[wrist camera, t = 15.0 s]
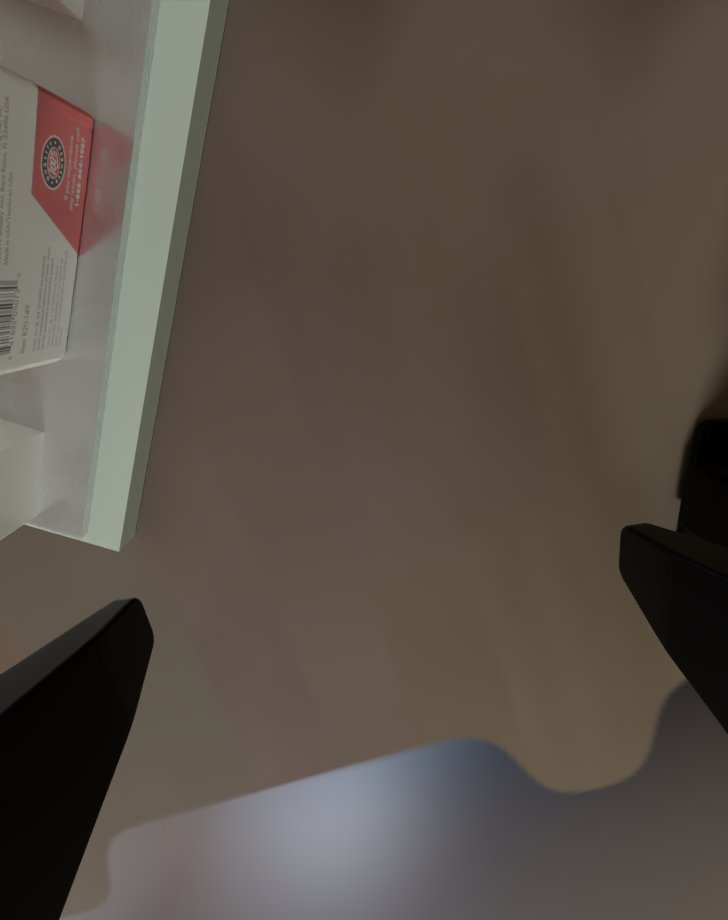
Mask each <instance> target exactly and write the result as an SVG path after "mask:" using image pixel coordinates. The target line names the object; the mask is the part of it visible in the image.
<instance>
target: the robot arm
mask: <svg viewBox="0 0 728 920" xmlns="http://www.w3.org/2000/svg"><path fill="white" fill-rule="evenodd" d="M711 428H714V431H713V433H712V434H711V435H710V436H707V433H708V431H709V430H710V429H711ZM678 520H679V522H680V523H679V529H678V532H675V531H672V530H668V529H665V528H662V527H658V526H655V525H652V524H648V523H642V524H635V525H629V526H625V527H624V528H623V529H622V531H621V537H620V555H619V569H620V573H621V576H622V578H623V580H624V581H625V583H626V585H627V587H628V588H629V590H630V592H631V593H632V595H633V597H634V598H635V600H636V602H637V603H638V605H639V607H640V608H641V610H642V612H643V614H644V615H645V617H646V619H647V620H648V622H649V624H650V625H651V627H652V629H653V630H654V632H655V634H656V636H657V637H658V639H659V640H660V642H661V644H662V645H663V647H664V648H665V650H666V651H667V653H668V654H669V655H670V657H671V658H672V660H673V661H674V662H675V664H676V665H677V666H678V668H679V669H680V671H681V672H682V673H683V675H684V676H685V677H686V679H687V680H688V681H689V683H690V684H691V685H692V687H693V688H694V689H695V691H696V692H697V693H698V695H699V696H700V697H701V699H702V700H703V702H704V703H705V704H706V706H707V707H708V708H709V710H710V711H711V712H712V714H713V715H714V716H715V718H716V719H717V720H718V722H719V723H720V724H721V726H722V727H723V728H724V730H725V731H726V733H727V734H728V418H724V419H709V420H705V421H703V422H701V423H700V424H699V425H698V426H697V428H696V431H695V437H694V442H693V448H692V454H691V460H690V465H689V469H688V471H687V472H686V477H685V483H684V489H683V495H682V501H681V507H680V512H679V518H678ZM153 644H154V636H153V631H152V628H151V626H150V623H149V620H148V618H147V615H146V612H145V610H144V607H143V605H142V603H141V601H140V600H139V599H137V598H127V599H120V600H116V601H113V602H111V603H110V604H108V605H107V606H105V607H104V608H102V609H101V610H99V611H97V612H96V613H94V614H93V615H91V616H90V617H88V618H87V619H85V620H84V621H82V622H80V623H79V624H77V625H76V626H74V627H73V628H71V629H70V630H68V631H67V632H65V633H64V634H62V635H60V636H59V637H57V638H56V639H54V640H53V641H51V642H50V643H48V644H47V645H45V646H43V647H42V648H40V649H39V650H37V651H36V652H34V653H33V654H31V655H30V656H28V657H27V658H25V659H23V660H22V661H20V662H19V663H17V664H16V665H14V666H13V667H11V668H10V669H8V670H7V671H5V672H3V673H2V674H0V920H59V919H60V916H61V913H62V911H63V908H64V905H65V903H66V900H67V897H68V895H69V892H70V890H71V887H72V884H73V882H74V879H75V876H76V874H77V871H78V868H79V866H80V863H81V860H82V858H83V855H84V852H85V850H86V847H87V844H88V842H89V839H90V836H91V834H92V831H93V828H94V826H95V823H96V820H97V818H98V815H99V812H100V810H101V807H102V804H103V802H104V799H105V796H106V794H107V791H108V788H109V786H110V783H111V780H112V778H113V775H114V772H115V770H116V767H117V764H118V762H119V759H120V756H121V754H122V751H123V748H124V746H125V743H126V740H127V738H128V735H129V732H130V729H131V726H132V723H133V720H134V716H135V713H136V709H137V706H138V702H139V698H140V694H141V690H142V687H143V683H144V679H145V675H146V672H147V668H148V664H149V660H150V656H151V653H152V649H153Z"/></svg>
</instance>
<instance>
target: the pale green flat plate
mask: <svg viewBox="0 0 728 920" xmlns="http://www.w3.org/2000/svg"><path fill="white" fill-rule="evenodd" d="M160 1H161V0H85V1H84V12H83V21H81V20H79V19H76V18H73V17H70V16H68V15H65V14H62V13H60V12H57V11H54V10H52V9H49V8H46V7H44V6H41V5H38V4H36V3H33V2H30V1H28V0H0V64H2V65H4V66H6V67H7V68H9V69H11V70H13V71H14V72H16V73H18V74H20V75H22V76H23V77H25V78H27V79H29V80H31V81H33V82H34V83H36V84H37V85H39V86H41V87H43V88H45V89H47V90H48V91H50V92H52V93H54V94H56V95H58V96H59V97H61V98H63V99H65V100H66V101H68V102H70V103H72V104H73V105H75V106H77V107H79V108H80V109H82V110H84V111H85V112H87V113H88V114H90V115H91V116H92V117H93V126H92V139H91V148H90V156H89V168H88V174H87V182H86V191H85V198H84V207H83V214H82V224H81V231H80V239H79V246H78V255H77V265H76V273H75V280H74V288H73V296H72V305H71V314H70V321H69V328H68V336H67V344H66V352H65V355H64V357H63V358H62V359H61V360H58V361H56V362H52V363H49V364H45V365H40V366H36V367H32V368H27V369H23V370H19V371H15V372H11V373H7V374H3V375H0V419H2V420H5V421H9V422H12V423H15V424H19V425H22V426H25V427H29V428H32V429H35V430H38V431H42V432H44V443H43V454H42V465H41V475H40V486H39V497H38V508H37V516H36V517H34V518H33V519H31V520H30V521H28V522H27V523H29V524H32V525H36V526H39V527H43V528H46V529H50V530H53V531H57V532H60V533H64V534H67V535H71V536H74V537H78V538H82V537H84V536H85V535H86V534H87V533H88V527H89V520H90V513H91V505H92V498H93V491H94V483H95V476H96V469H97V461H98V454H99V447H100V439H101V432H102V425H103V418H104V410H105V403H106V396H107V388H108V381H109V374H110V366H111V359H112V352H113V344H114V337H115V330H116V323H117V315H118V308H119V301H120V293H121V286H122V279H123V271H124V264H125V257H126V249H127V242H128V235H129V228H130V220H131V213H132V206H133V198H134V191H135V184H136V176H137V169H138V162H139V154H140V147H141V140H142V133H143V125H144V118H145V111H146V103H147V96H148V89H149V81H150V74H151V67H152V59H153V52H154V45H155V38H156V30H157V23H158V16H159V8H160Z"/></svg>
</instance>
